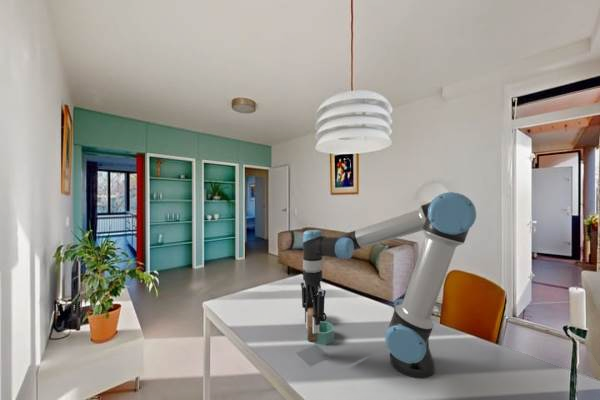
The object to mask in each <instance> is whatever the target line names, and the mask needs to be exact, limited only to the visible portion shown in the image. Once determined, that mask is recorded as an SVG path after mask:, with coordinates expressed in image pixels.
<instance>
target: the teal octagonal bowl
mask: <svg viewBox="0 0 600 400" xmlns="http://www.w3.org/2000/svg"><path fill="white" fill-rule="evenodd" d="M334 340H335V325H334V324H333V323H330V322H328V321H324V322H323V321H320V324H319V332H318V341H317V342H314V343H313V344H314V345H320V346H321V345H323V346H326V345H329V344H332V343H334Z"/></svg>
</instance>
